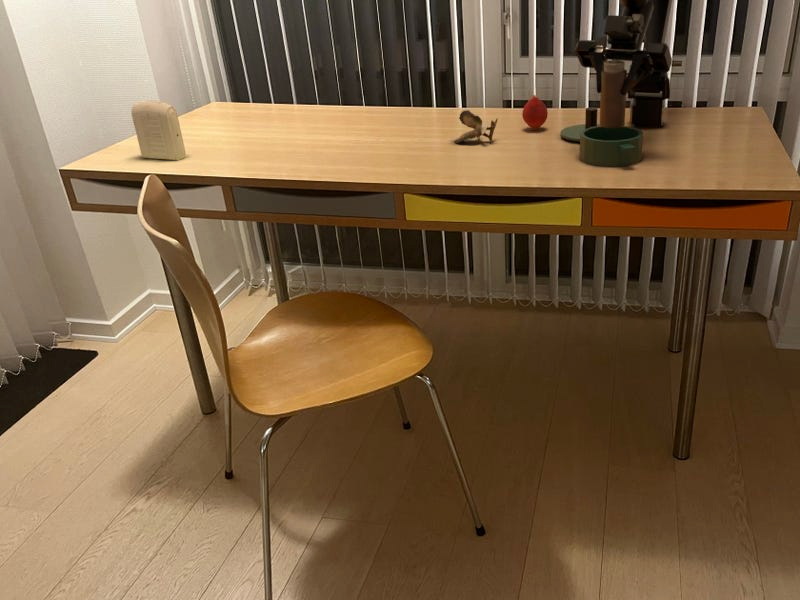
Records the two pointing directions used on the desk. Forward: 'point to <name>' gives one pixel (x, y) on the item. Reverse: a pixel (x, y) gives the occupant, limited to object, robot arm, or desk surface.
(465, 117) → the eagle figurine
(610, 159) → the pot
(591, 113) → the lid
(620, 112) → the pepper mill
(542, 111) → the onion
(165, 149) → the photo printer
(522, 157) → the desk surface
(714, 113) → the desk surface
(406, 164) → the desk surface
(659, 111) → the robot arm
